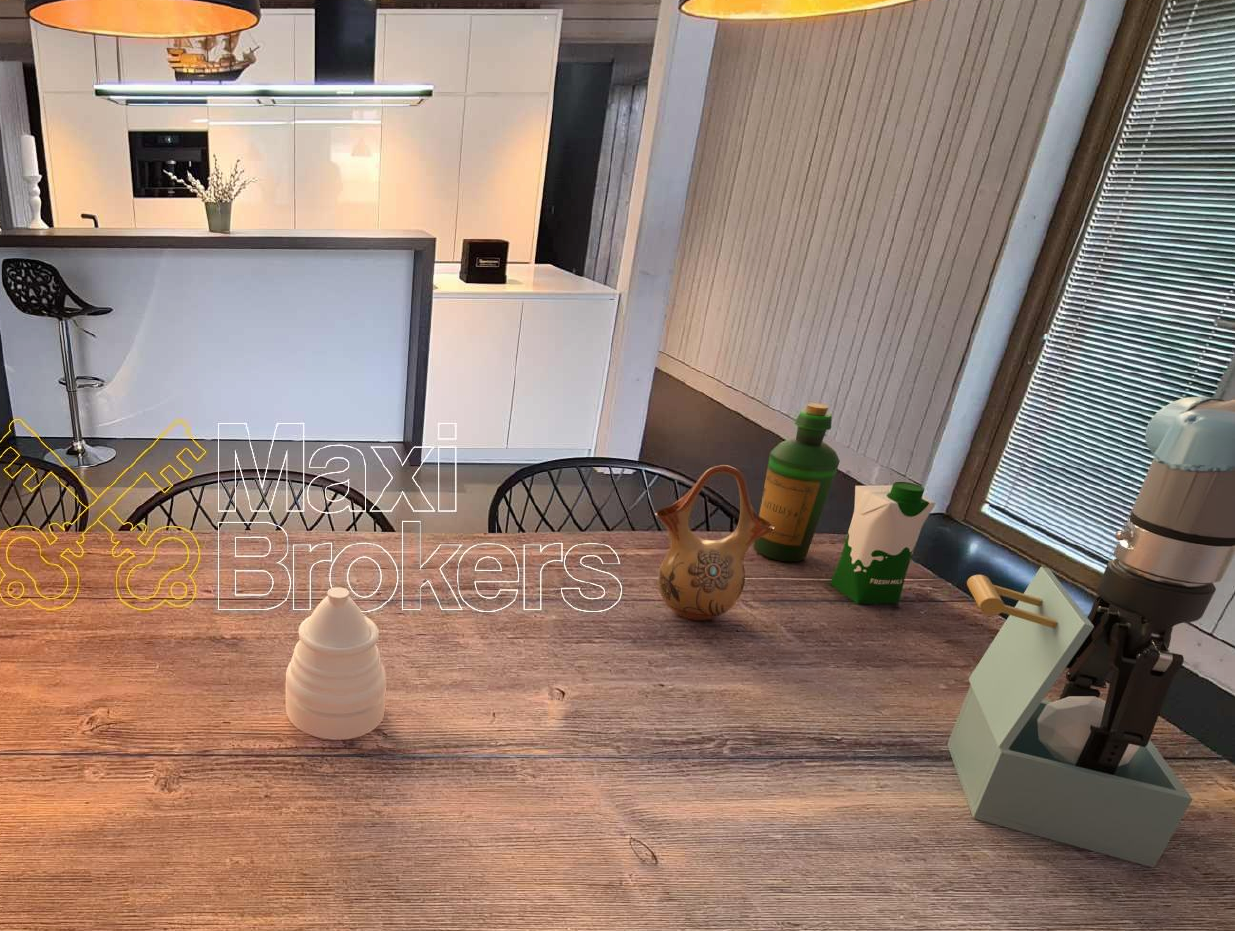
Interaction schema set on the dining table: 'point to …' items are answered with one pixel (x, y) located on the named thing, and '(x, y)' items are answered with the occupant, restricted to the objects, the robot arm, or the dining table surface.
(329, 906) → the dining table surface
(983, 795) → the compartment
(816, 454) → the bottle
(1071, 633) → the compartment door
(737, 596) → the ceramic vessel
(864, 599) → the milk carton
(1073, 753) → the geometric ball
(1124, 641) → the robot arm
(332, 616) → the honey pot
